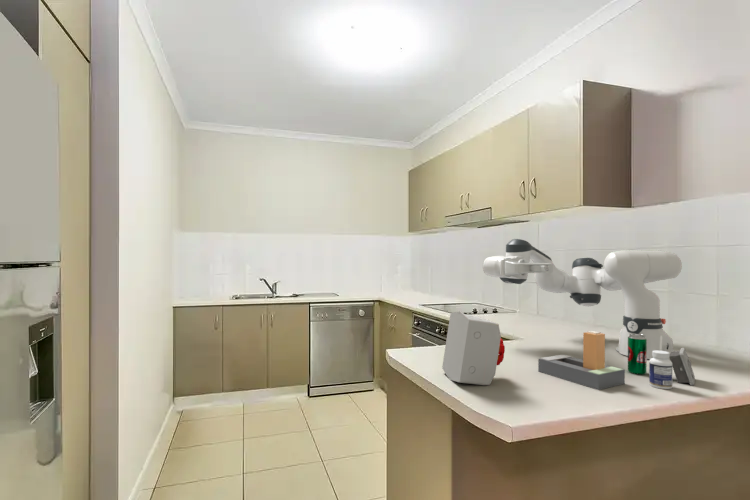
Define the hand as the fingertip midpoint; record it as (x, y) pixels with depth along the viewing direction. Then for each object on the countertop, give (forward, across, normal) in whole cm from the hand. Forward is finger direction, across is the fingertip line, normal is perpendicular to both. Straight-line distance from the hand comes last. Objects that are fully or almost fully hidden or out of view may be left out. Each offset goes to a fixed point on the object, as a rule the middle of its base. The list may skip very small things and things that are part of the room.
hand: (546, 268), depth 149 cm
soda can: (+26, -10, -32) cm, 42 cm away
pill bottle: (+37, -2, -32) cm, 49 cm away
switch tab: (+25, +11, -31) cm, 41 cm away
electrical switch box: (+7, +40, -32) cm, 52 cm away
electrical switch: (+37, -14, -32) cm, 51 cm away
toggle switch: (+20, +11, -32) cm, 39 cm away
